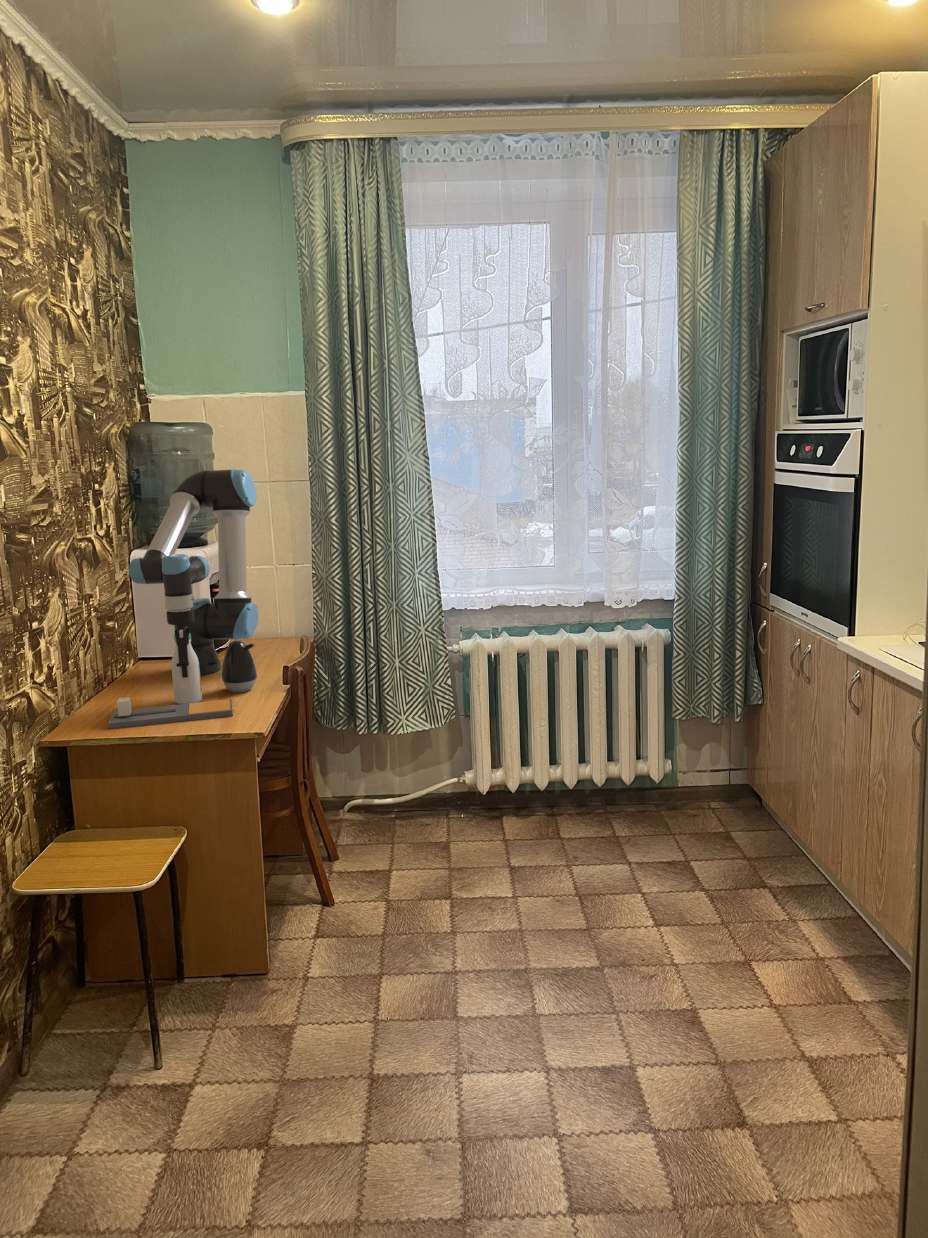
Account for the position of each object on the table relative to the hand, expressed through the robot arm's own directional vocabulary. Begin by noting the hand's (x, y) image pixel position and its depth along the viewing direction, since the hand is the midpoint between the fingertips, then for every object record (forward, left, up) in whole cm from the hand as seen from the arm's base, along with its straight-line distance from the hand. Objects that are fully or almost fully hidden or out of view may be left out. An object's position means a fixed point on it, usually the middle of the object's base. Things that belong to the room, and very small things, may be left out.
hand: (186, 682), depth 279 cm
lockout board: (+14, -4, -6) cm, 16 cm away
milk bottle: (0, 0, -6) cm, 6 cm away
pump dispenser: (-7, +15, -6) cm, 18 cm away
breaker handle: (+14, -16, -4) cm, 22 cm away
